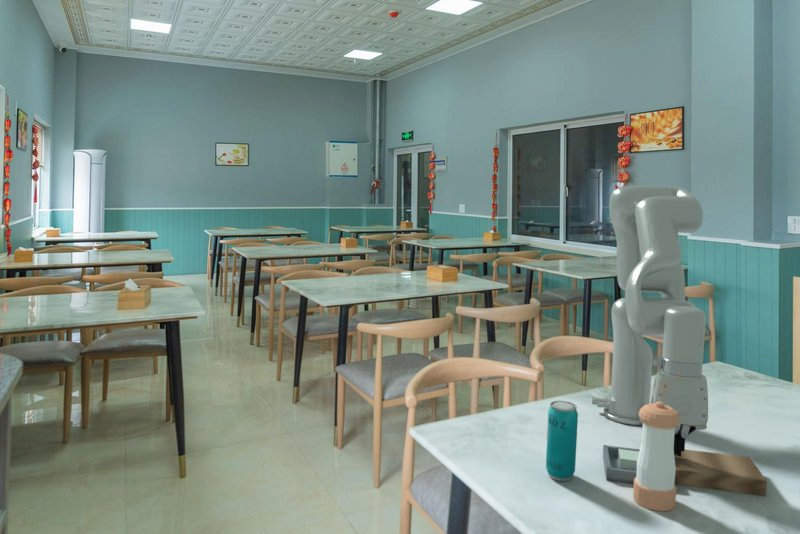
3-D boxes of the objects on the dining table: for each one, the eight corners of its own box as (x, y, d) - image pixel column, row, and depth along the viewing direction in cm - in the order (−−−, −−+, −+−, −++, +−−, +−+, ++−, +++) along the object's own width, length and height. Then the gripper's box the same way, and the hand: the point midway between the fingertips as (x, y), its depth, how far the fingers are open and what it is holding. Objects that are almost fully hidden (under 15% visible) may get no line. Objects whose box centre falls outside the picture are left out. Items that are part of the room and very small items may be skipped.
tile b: (645, 461, 119) (645, 471, 119) (643, 452, 124) (642, 460, 124) (620, 458, 120) (619, 467, 121) (618, 448, 125) (618, 457, 125)
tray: (606, 480, 116) (607, 468, 116) (602, 455, 128) (603, 445, 127) (674, 489, 113) (675, 477, 112) (664, 463, 124) (665, 452, 124)
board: (674, 483, 115) (675, 469, 115) (665, 460, 125) (666, 447, 125) (765, 496, 111) (767, 481, 110) (748, 470, 121) (749, 457, 121)
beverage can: (552, 467, 122) (555, 398, 120) (579, 475, 118) (582, 404, 116) (540, 476, 117) (543, 405, 115) (567, 485, 114) (571, 412, 112)
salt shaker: (663, 491, 112) (669, 395, 110) (682, 511, 105) (690, 409, 102) (626, 491, 112) (632, 395, 109) (643, 511, 104) (649, 409, 102)
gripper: (644, 369, 116) (639, 456, 118) (727, 376, 112) (720, 466, 114) (639, 359, 123) (634, 441, 125) (717, 365, 119) (710, 450, 121)
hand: (675, 453), depth 119 cm, fingers closed
